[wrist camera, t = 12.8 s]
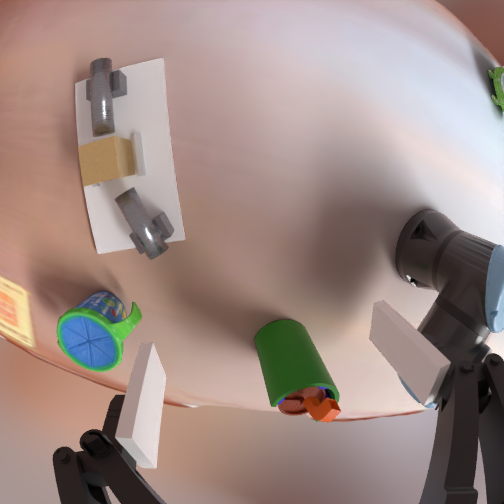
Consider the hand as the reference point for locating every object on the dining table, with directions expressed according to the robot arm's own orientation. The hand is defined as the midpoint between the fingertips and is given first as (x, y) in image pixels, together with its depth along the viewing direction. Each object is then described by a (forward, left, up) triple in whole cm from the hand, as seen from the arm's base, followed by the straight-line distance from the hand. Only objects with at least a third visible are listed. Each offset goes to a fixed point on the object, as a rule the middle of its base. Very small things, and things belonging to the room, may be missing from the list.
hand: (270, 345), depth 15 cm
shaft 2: (+12, -4, -27) cm, 29 cm away
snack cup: (+23, +10, -27) cm, 37 cm away
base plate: (+14, -14, -27) cm, 33 cm away
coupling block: (+15, -13, -26) cm, 32 cm away
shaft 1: (+15, -22, -26) cm, 37 cm away
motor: (-6, +21, -27) cm, 35 cm away
